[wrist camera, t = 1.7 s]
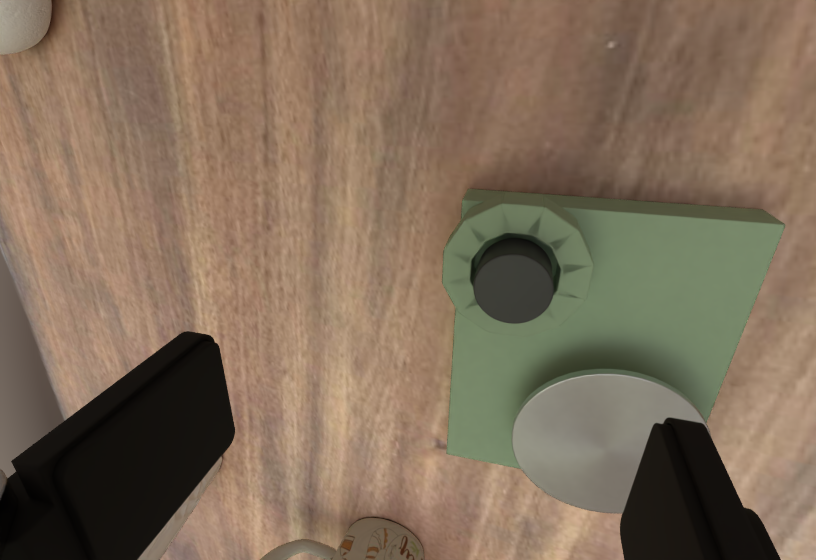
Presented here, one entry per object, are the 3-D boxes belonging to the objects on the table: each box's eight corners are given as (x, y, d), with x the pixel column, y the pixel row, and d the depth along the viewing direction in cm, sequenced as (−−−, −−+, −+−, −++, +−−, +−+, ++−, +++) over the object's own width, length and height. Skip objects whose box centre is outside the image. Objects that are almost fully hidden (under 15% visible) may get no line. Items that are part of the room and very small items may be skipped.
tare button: (480, 234, 18) (475, 250, 17) (557, 240, 18) (560, 258, 16) (475, 298, 20) (470, 319, 18) (546, 307, 19) (547, 329, 18)
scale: (458, 177, 21) (445, 199, 18) (767, 198, 18) (815, 227, 15) (444, 429, 28) (433, 475, 25) (666, 470, 25) (684, 528, 22)
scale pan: (523, 354, 20) (522, 359, 20) (737, 385, 18) (741, 392, 18) (503, 486, 24) (503, 492, 23) (679, 523, 22) (682, 530, 21)
